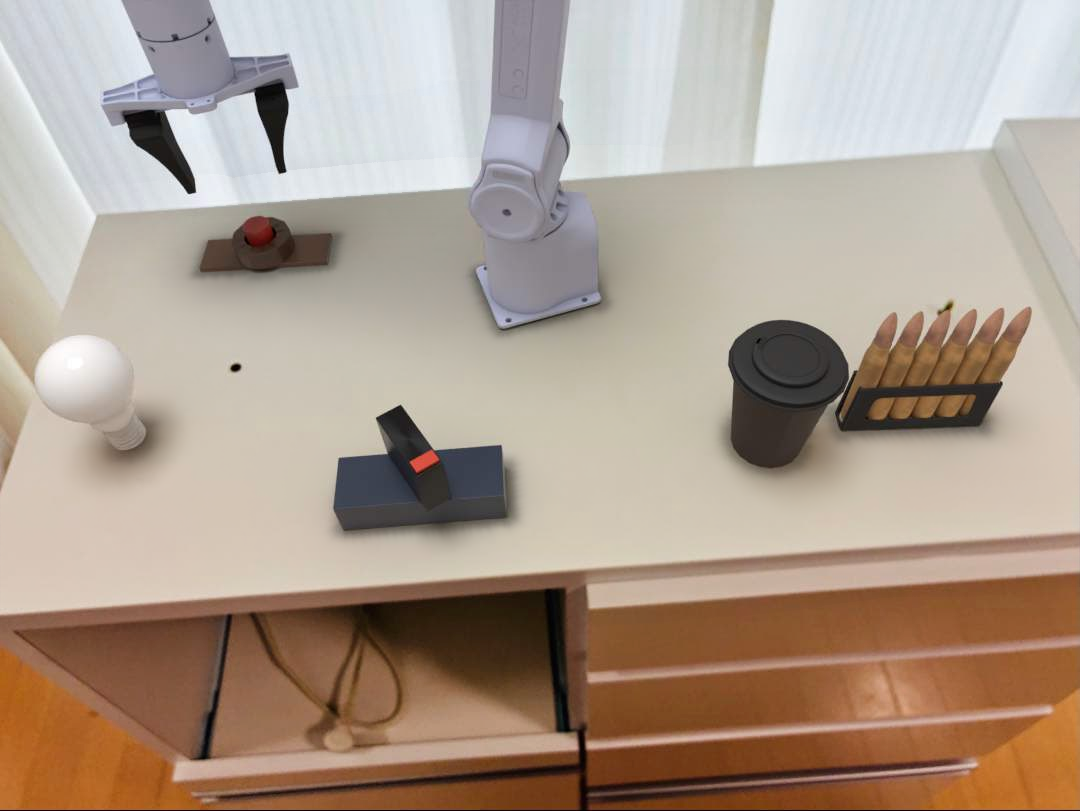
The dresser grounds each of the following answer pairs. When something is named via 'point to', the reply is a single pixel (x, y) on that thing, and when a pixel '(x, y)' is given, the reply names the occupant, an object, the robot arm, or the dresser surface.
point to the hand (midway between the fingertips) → (236, 176)
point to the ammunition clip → (930, 373)
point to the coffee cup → (781, 388)
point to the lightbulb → (91, 387)
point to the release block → (267, 250)
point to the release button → (258, 231)
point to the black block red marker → (414, 457)
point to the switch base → (387, 500)
